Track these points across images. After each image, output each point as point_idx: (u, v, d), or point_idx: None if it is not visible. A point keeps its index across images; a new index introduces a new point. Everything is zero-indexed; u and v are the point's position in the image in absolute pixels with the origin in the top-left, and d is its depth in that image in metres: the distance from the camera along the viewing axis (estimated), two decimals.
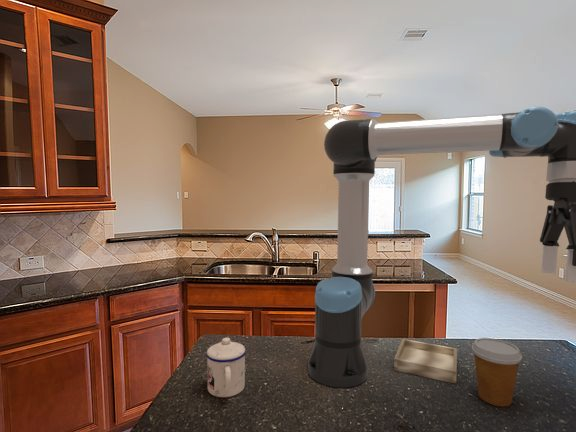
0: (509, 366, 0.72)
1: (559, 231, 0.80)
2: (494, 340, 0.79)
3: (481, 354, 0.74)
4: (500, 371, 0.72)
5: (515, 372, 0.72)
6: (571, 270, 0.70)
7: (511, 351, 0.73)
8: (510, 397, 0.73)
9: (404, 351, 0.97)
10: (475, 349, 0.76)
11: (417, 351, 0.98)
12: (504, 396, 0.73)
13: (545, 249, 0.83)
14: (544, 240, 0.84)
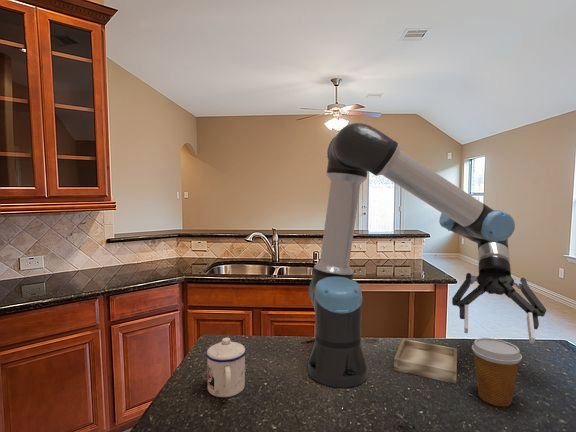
0: (509, 366, 0.72)
1: (476, 297, 0.90)
2: (494, 340, 0.79)
3: (481, 354, 0.74)
4: (500, 371, 0.72)
5: (515, 372, 0.72)
6: (533, 330, 0.80)
7: (511, 351, 0.74)
8: (510, 397, 0.73)
9: (404, 351, 0.97)
10: (475, 349, 0.76)
11: (417, 351, 0.98)
12: (504, 396, 0.73)
13: (467, 308, 0.87)
14: (464, 300, 0.89)
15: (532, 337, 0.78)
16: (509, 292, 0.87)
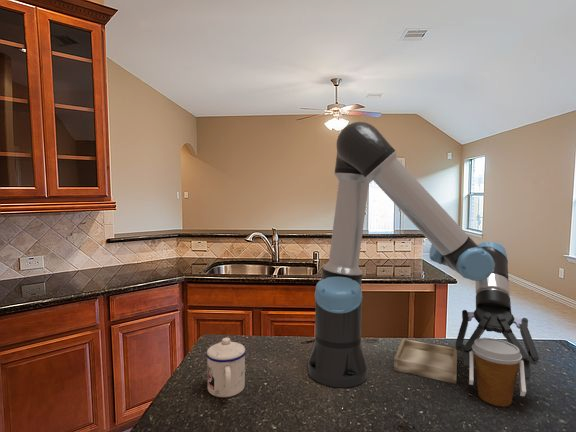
0: (509, 366, 0.72)
1: (478, 338, 0.82)
2: (494, 340, 0.79)
3: (481, 354, 0.74)
4: (500, 371, 0.72)
5: (515, 372, 0.72)
6: (524, 381, 0.72)
7: (511, 351, 0.73)
8: (510, 397, 0.73)
9: (404, 351, 0.97)
10: (475, 349, 0.76)
11: (417, 351, 0.98)
12: (504, 396, 0.73)
13: None
14: (469, 345, 0.79)
15: (523, 390, 0.70)
16: (505, 332, 0.79)
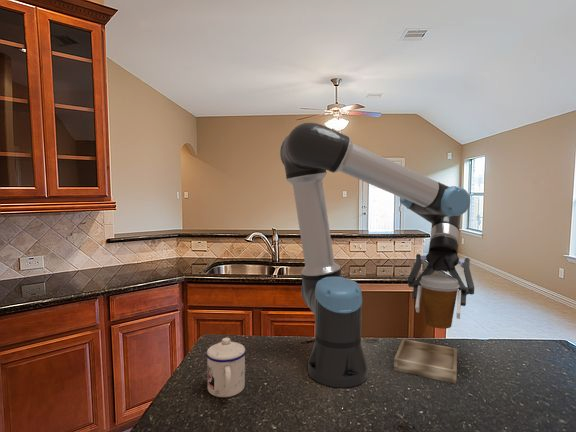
0: (447, 293, 0.84)
1: None
2: (440, 276, 0.92)
3: (425, 284, 0.87)
4: (440, 297, 0.85)
5: (453, 299, 0.85)
6: (460, 306, 0.84)
7: (450, 282, 0.86)
8: (449, 321, 0.86)
9: (404, 351, 0.97)
10: (421, 282, 0.89)
11: (417, 351, 0.98)
12: (443, 320, 0.85)
13: (420, 289, 0.91)
14: (418, 281, 0.92)
15: (457, 312, 0.83)
16: (450, 269, 0.92)
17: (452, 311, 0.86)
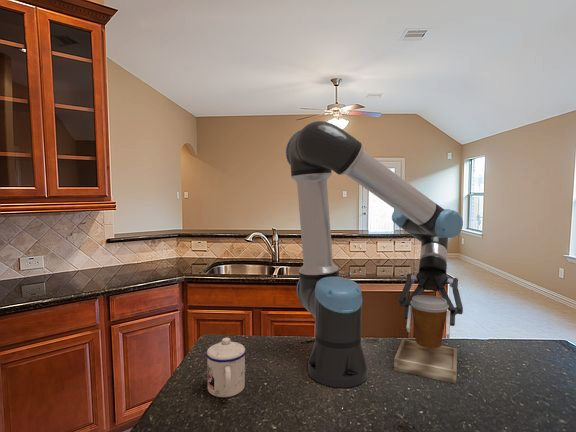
0: (436, 314, 0.87)
1: None
2: (430, 296, 0.95)
3: (415, 305, 0.89)
4: (430, 318, 0.88)
5: (442, 319, 0.88)
6: (449, 327, 0.87)
7: (440, 303, 0.89)
8: (439, 340, 0.89)
9: (404, 351, 0.97)
10: (412, 302, 0.91)
11: (417, 351, 0.98)
12: (433, 339, 0.88)
13: (411, 309, 0.93)
14: (409, 301, 0.95)
15: (447, 333, 0.86)
16: (439, 289, 0.95)
17: (442, 331, 0.89)
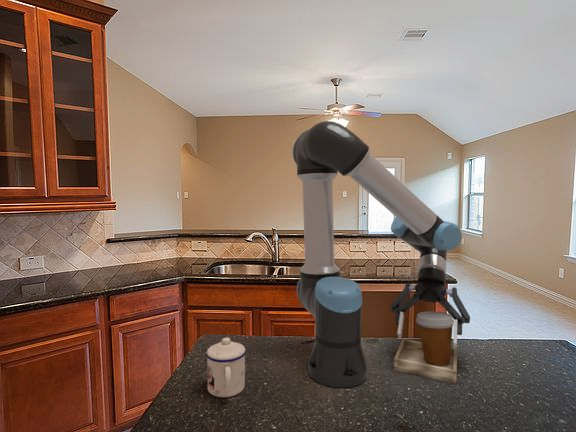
0: (442, 330, 0.87)
1: (412, 305, 0.98)
2: (435, 312, 0.95)
3: (421, 322, 0.90)
4: (436, 334, 0.88)
5: (448, 335, 0.88)
6: (456, 336, 0.87)
7: (445, 318, 0.90)
8: (447, 357, 0.89)
9: (404, 351, 0.97)
10: (417, 319, 0.92)
11: (417, 351, 0.98)
12: (442, 356, 0.88)
13: (402, 315, 0.95)
14: (401, 307, 0.97)
15: (454, 342, 0.86)
16: (441, 300, 0.95)
17: (449, 347, 0.89)
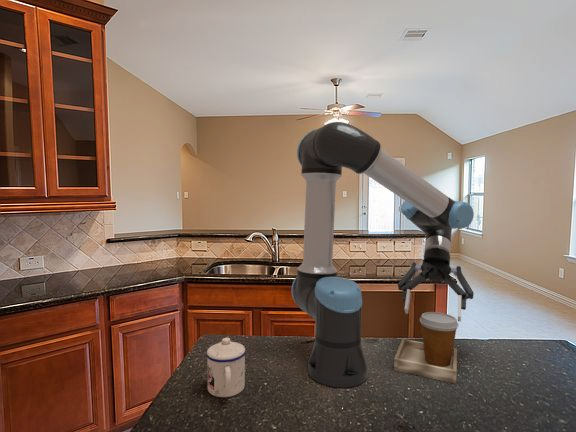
0: (447, 333, 0.87)
1: (418, 283, 1.03)
2: (438, 313, 0.94)
3: (425, 324, 0.89)
4: (440, 337, 0.87)
5: (452, 338, 0.88)
6: None
7: (450, 321, 0.89)
8: (449, 359, 0.89)
9: (404, 351, 0.97)
10: (421, 320, 0.91)
11: (417, 351, 0.98)
12: (443, 358, 0.88)
13: (409, 292, 1.00)
14: (407, 285, 1.02)
15: (458, 315, 0.91)
16: (445, 278, 1.00)
17: (451, 349, 0.89)
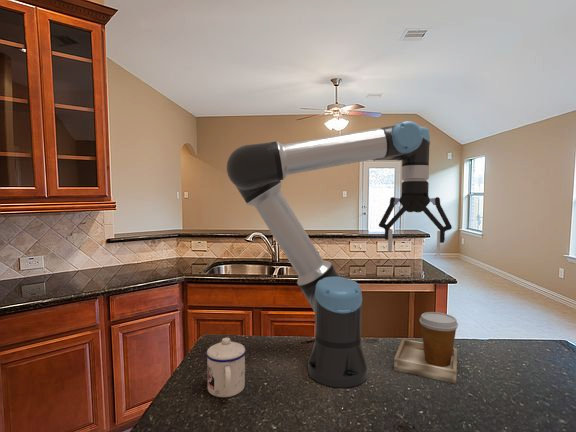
0: (447, 333, 0.87)
1: (399, 217, 1.04)
2: (438, 313, 0.94)
3: (425, 324, 0.89)
4: (440, 337, 0.87)
5: (452, 338, 0.88)
6: (439, 246, 0.98)
7: (449, 321, 0.89)
8: (449, 359, 0.89)
9: (404, 351, 0.97)
10: (421, 320, 0.91)
11: (417, 351, 0.98)
12: (443, 358, 0.88)
13: (391, 232, 1.03)
14: (388, 225, 1.04)
15: (437, 253, 0.98)
16: (424, 212, 0.99)
17: (451, 349, 0.89)
